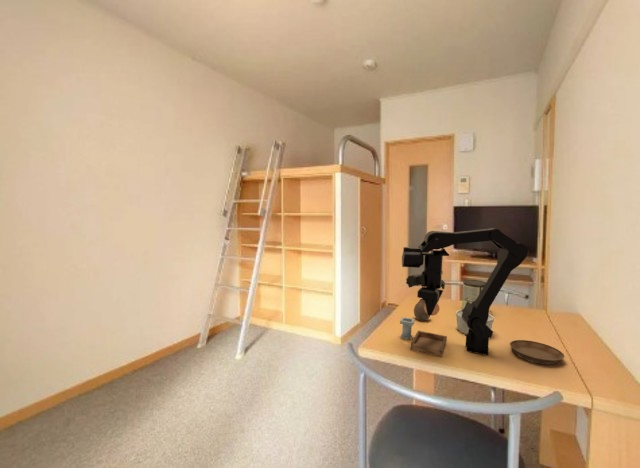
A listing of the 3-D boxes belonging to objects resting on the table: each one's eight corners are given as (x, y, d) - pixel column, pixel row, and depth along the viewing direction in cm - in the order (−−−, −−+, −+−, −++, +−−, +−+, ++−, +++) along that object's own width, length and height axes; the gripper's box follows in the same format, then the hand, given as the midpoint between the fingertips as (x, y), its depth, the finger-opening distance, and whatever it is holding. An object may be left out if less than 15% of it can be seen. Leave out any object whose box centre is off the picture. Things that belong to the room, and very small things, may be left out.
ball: (443, 307, 109) (433, 295, 110) (440, 312, 104) (430, 300, 106) (432, 315, 111) (423, 303, 112) (429, 320, 107) (419, 308, 108)
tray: (446, 342, 113) (446, 336, 113) (441, 357, 102) (442, 350, 101) (417, 336, 118) (418, 330, 118) (410, 349, 106) (410, 343, 106)
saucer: (513, 342, 114) (513, 335, 114) (564, 356, 105) (565, 348, 105) (505, 357, 103) (506, 349, 103) (562, 373, 94) (563, 365, 93)
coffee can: (462, 306, 154) (464, 278, 152) (486, 310, 148) (488, 281, 147) (459, 312, 145) (461, 282, 144) (484, 317, 140) (487, 286, 138)
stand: (413, 335, 118) (414, 319, 117) (412, 340, 114) (413, 323, 113) (401, 333, 120) (402, 317, 119) (399, 338, 116) (400, 321, 115)
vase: (427, 323, 131) (428, 303, 130) (411, 319, 135) (412, 299, 134) (432, 319, 136) (433, 299, 135) (416, 315, 140) (417, 296, 139)
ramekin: (453, 334, 121) (454, 316, 120) (456, 323, 132) (457, 306, 132) (492, 341, 115) (494, 323, 114) (492, 329, 126) (493, 312, 125)
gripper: (414, 261, 119) (412, 301, 121) (402, 270, 103) (400, 316, 104) (446, 264, 114) (443, 306, 115) (438, 274, 98) (436, 323, 99)
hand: (430, 312), depth 109 cm, fingers closed on ball, 5 cm apart
